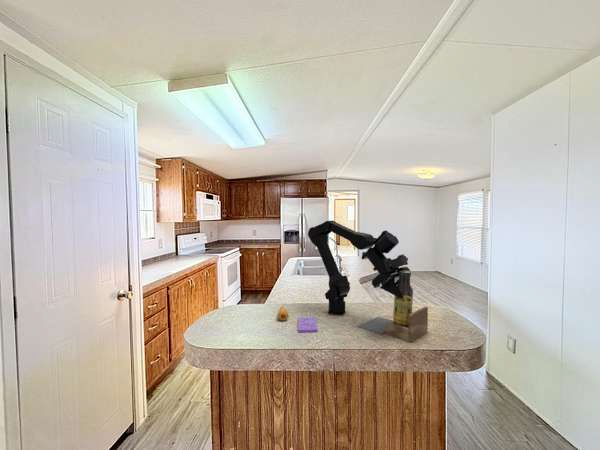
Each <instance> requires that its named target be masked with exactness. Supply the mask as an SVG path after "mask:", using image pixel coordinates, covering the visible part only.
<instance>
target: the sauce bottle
mask: <svg viewBox="0 0 600 450" xmlns="http://www.w3.org/2000/svg"><path fill="white" fill-rule="evenodd" d="M411 275H412V272H411V270H410V271H406V270H400V271H399V283H398V285H396V286H397V287H398V289H399V290H400V292H401V294H402V295H403V298H402V299H400V298H398V297H396V296H395V295H394V297H393V299H394V300H393V314H392V315H393V316H392V321H393V324H396V325H399V326H403V327H407V328H408V323H409V314H411V313H413V304H414V301H413V300H414V299H413V297H414V296H413V295H414V290H413V287H412V286H411Z"/></svg>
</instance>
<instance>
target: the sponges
mask: <svg viewBox="0 0 600 450" xmlns="http://www.w3.org/2000/svg"><path fill="white" fill-rule="evenodd" d="M297 322H298V323H297V332H298V333H299V332H300V333H299V334H308V333H311V334H312V333H314V334H316V333H319V331H318V325H317V319H316V316H309V317H308V316H305V317H299V316H298V317H297Z"/></svg>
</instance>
